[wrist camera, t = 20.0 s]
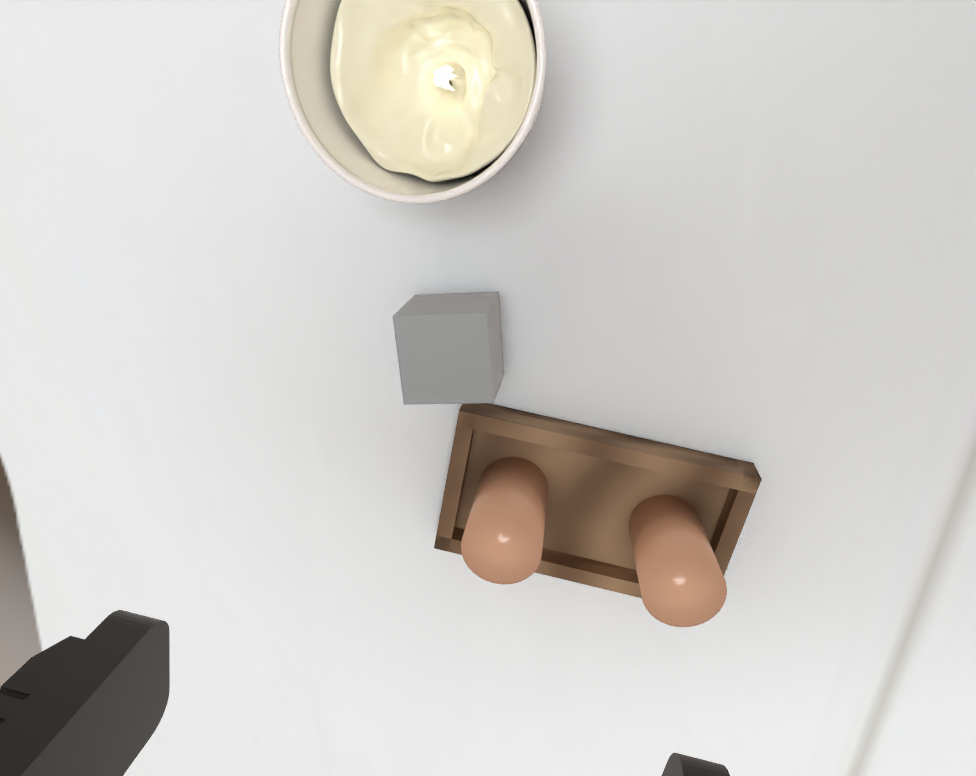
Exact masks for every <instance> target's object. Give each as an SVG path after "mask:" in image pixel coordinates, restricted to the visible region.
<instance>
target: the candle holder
mask: <svg viewBox="0 0 976 776" xmlns="http://www.w3.org/2000/svg"><path fill="white" fill-rule="evenodd" d="M279 58H280V68H281V75H282V81H283V86H284V90H285V93H286V97H287V100H288V103H289V106H290V109H291V111H292V114H293V116H294V118H295V120H296V122H297V124H298V126H299V128H300V130H301V132H302V134H303V135H304V137H305V139H306V140H307V142H308V143H309V144H310V146H311V147H312V149H313V150H314V151H315V152H316V154H317V155H318V156H319V157H320V158H321V159H322V161H323V162H324V163H325V164H326V165H327V166H328V167H329V168H330V169H332V170H333V171H334V172H335V173H336V174H337V175H339V176H340V177H341V178H343V179H344V180H345V181H347V182H348V183H350V184H351V185H353V186H355V187H356V188H358V189H360V190H362V191H364V192H366V193H369V194H371V195H373V196H376V197H379V198H382V199H386V200H390V201H394V202H400V203H411V204H423V203H433V202H439V201H444V200H448V199H451V198H454V197H457V196H460V195H462V194H465V193H467V192H469V191H471V190H473V189H475V188H476V187H478V186H480V185H481V184H483V183H484V182H486V181H487V180H489V179H490V178H491V177H492V176H494V175H495V174H496V173H497V172H498V171H499V170H500V169H501V168H502V167H503V166H504V165H505V164H506V163H507V162H508V161H509V160H510V159H511V158H512V156H513V155H514V154H515V152H516V151H517V150H518V148H519V147H520V145H521V144H522V142H523V141H524V140H525V138H526V137H527V136H528V134H529V133H530V131H531V129H532V127H533V126H534V124H535V121H536V119H537V117H538V114H539V111H540V108H541V104H542V100H543V94H544V84H545V74H546V39H545V31H544V25H543V20H542V16H541V12H540V8H539V5H538V2H537V0H286V1H285V5H284V9H283V13H282V19H281V26H280V37H279Z"/></svg>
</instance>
